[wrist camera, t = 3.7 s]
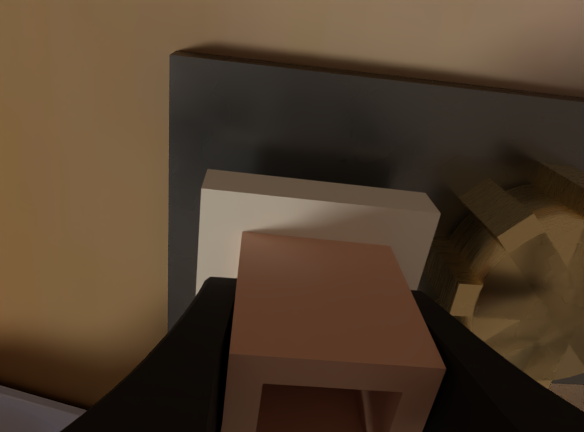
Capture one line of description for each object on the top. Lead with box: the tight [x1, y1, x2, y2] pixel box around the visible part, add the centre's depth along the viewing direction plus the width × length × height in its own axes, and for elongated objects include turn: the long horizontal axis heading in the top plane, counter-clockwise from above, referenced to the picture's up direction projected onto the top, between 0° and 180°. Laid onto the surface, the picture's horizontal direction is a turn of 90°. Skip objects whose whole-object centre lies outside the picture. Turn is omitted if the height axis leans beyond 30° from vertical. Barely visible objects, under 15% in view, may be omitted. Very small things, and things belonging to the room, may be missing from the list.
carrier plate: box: [168, 51, 584, 389], centre depth 14 cm, size 22×10×4 cm, turn 83°
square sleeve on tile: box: [196, 169, 446, 432], centre depth 11 cm, size 6×6×5 cm
